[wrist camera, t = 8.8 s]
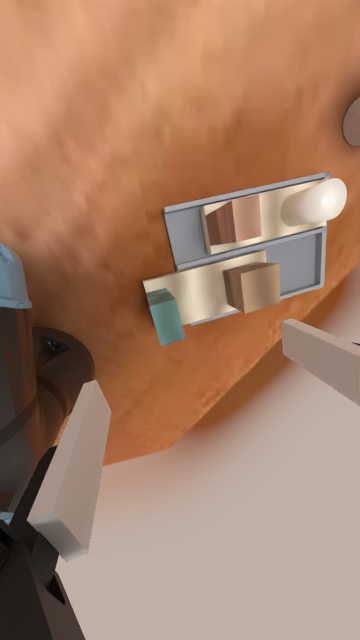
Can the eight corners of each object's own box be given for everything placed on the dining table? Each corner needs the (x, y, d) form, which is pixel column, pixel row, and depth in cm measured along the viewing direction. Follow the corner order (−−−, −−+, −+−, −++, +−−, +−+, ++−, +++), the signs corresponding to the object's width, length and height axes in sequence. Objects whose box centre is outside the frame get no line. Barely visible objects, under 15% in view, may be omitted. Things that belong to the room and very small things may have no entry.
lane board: (188, 322, 34) (190, 326, 32) (162, 210, 28) (164, 207, 26) (314, 285, 37) (323, 286, 35) (317, 176, 31) (329, 171, 29)
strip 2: (156, 328, 32) (164, 357, 23) (142, 280, 29) (144, 292, 20) (261, 297, 35) (307, 312, 25) (258, 250, 32) (308, 248, 22)
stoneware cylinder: (281, 229, 29) (314, 223, 24) (280, 196, 28) (315, 182, 22) (306, 223, 30) (345, 215, 24) (306, 190, 28) (348, 174, 23)
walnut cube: (227, 304, 31) (244, 313, 26) (222, 270, 29) (240, 273, 24) (257, 295, 32) (280, 302, 27) (255, 262, 30) (279, 263, 25)
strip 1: (206, 254, 30) (237, 253, 21) (199, 209, 28) (230, 185, 19) (315, 226, 32) (386, 215, 23) (316, 182, 30) (395, 150, 21)
